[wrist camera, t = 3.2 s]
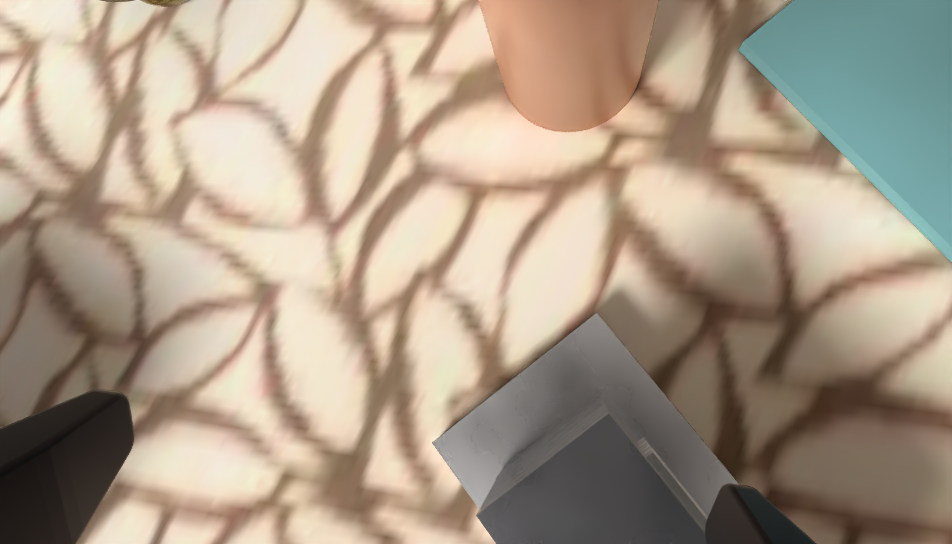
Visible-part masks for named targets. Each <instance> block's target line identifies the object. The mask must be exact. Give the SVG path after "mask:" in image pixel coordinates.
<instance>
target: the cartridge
mask: <svg viewBox="0 0 952 544" xmlns="http://www.w3.org/2000/svg"><path fill="white" fill-rule="evenodd" d="M658 2H659V0H479V4H480V7H481V10H482V14H483V17H484V21H485V24H486V27H487V31H488V34H489V37H490V41H491V44H492V47H493V51H494V54H495V57H496V61H497V64H498V67H499V71H500V74H501V77H502V81H503V84H504V88H505V90H506V93H507V96H508V97H509V99H510V101H511V103H512V104H513V106H514V107H515V108H516V110H517V111H518V112H519V113H520V114H521V115H522V116H523V117H525V118H526V119H527V120H529V121H530V122H532V123H534V124H535V125H537V126H540V127H542V128H545V129H548V130H552V131H559V132H576V131H582V130H586V129H590V128H593V127H595V126H598V125H600V124H602V123H604V122H606V121H607V120H609V119H610V118H612V117H613V116H615V115H616V114H617V113H618V112H619V111H620V110H621V109H622V108H623V107H624V106H625V105H626V104H627V102H628V101H629V100H630V98H631V97H632V95H633V93H634V91H635V89H636V87H637V85H638V82H639V79H640V75H641V71H642V67H643V63H644V59H645V55H646V51H647V47H648V43H649V39H650V35H651V31H652V27H653V23H654V19H655V15H656V10H657V6H658Z"/></svg>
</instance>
